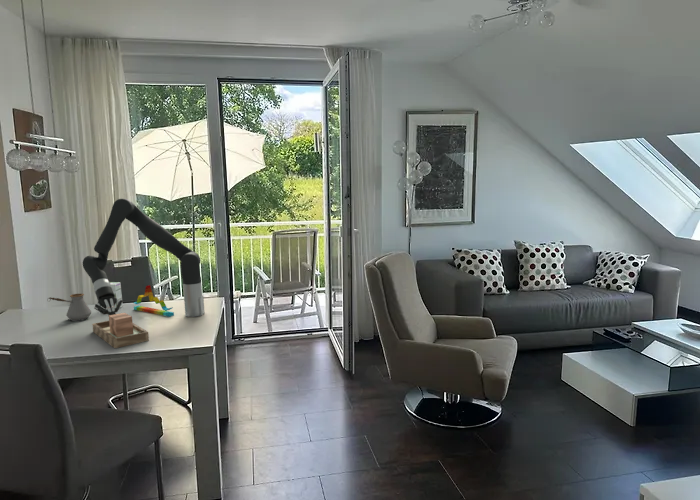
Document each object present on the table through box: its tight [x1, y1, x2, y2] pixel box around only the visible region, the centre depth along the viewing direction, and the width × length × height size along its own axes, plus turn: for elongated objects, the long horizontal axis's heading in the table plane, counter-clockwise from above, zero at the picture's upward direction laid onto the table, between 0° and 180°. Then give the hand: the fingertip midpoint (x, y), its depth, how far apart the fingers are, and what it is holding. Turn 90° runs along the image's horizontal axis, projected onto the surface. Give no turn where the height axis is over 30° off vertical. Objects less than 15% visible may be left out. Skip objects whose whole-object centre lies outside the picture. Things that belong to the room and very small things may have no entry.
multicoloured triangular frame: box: [133, 284, 175, 318], centre depth 267 cm, size 30×3×15 cm, turn 58°
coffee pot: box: [47, 293, 92, 322], centre depth 254 cm, size 21×12×15 cm, turn 156°
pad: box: [110, 328, 140, 338], centre depth 224 cm, size 10×12×2 cm
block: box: [108, 312, 134, 337], centre depth 223 cm, size 10×7×8 cm
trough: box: [91, 320, 150, 349], centre depth 228 cm, size 33×14×4 cm, turn 42°
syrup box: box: [109, 281, 124, 309], centre depth 279 cm, size 6×6×14 cm
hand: (113, 319), depth 232 cm, fingers closed
